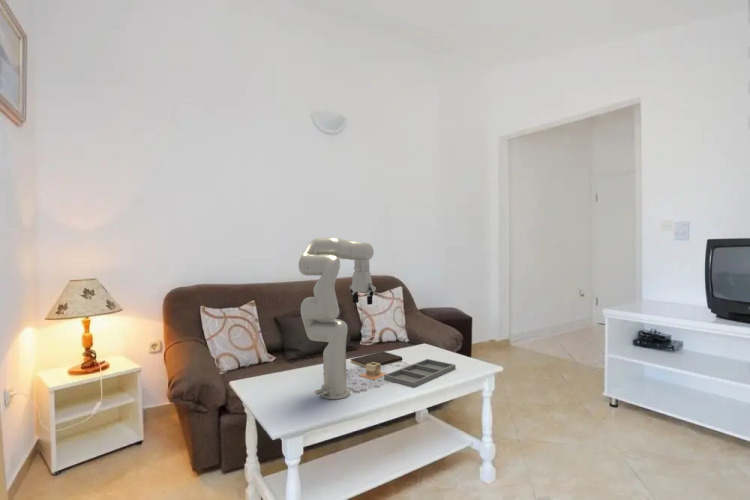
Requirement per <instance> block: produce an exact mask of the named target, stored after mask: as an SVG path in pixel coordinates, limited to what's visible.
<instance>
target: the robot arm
mask: <svg viewBox="0 0 750 500" xmlns="http://www.w3.org/2000/svg"><path fill="white" fill-rule="evenodd" d="M373 257H374V247H373V245H372V244H370V243H367V242H360V241H353V240H347V239H342V238H338V237H315V238H314V239H313V240H311V241H310V242H309V244H308V245H307V247H306V248H305V250H304V251H303V253H302V254H301V256H300V258H299V260H298V271H299V272H300V273H301V274H302V275H304V276H314V277H315V276H320V277H319V279H318V280H317V281H316V283H315V284H314V287H313V291H312V292H313V295H314V296H308V297H306V298H303V300H302V302H301V304H300V315H301V320H302V323H303V326H304V327H303V328H304V329H305V334H306V336H307V338H308V339H309V340H310V341H314V342H323V343H325V342H326V343H327V345H326V347H324V350H323V353H322V357H323V360H322V361H323V362H322V363H323V384H322V385H321V388H319V389H316V390H315V391H314V394H315V395H316V396H318V395H320V396H321V397H322V399H327V400H340V399H344V398H347V397H349V396H350V395H351V389H350V388H348V387H347V354H346V353H347V351H346V350H347V337H348V324H347V323H346V322H345V321H344V320H342V319H338V318H339V315H340V307H339V303H338V302H339V301H338V298H337V294H336V288H335V285H336V283H337V278H338V275H339V272H340V268H341V261H340V260H350V261H354V263H353V264H354V266H353V270H354V271H353V273H352V281H351V284H350V285H349V289H350V290H349V291H350V292H351V295H352V297H353V298H352V299H353V301H352V302H353V304H358V303H359V302H360V301H359V300H360V299H359V293H366V295H367V296H366V304H367V305H372V304H373V297H374V294H375V292H376V290H377V288H376V286H374V285H373V281H372V280H373V279H372V273H371V271H370V260H371V259H372V258H373Z"/></svg>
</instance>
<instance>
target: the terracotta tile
mask: <svg viewBox="0 0 750 500" xmlns="http://www.w3.org/2000/svg"><path fill="white" fill-rule="evenodd" d="M386 374H388V373H385V372H382V371H381V374H380V375H378V376H375V377H373V376H369V375H366V372H363V373H360V374H359V375H358V377H360V378H363V379H367V380H371V381H376V380H378V379H380V378H384V375H386Z"/></svg>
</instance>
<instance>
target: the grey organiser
mask: <svg viewBox="0 0 750 500" xmlns="http://www.w3.org/2000/svg"><path fill="white" fill-rule="evenodd" d="M456 369H457V368H456V364H454V363H448V362H445V361H440V360H435V359H430V358H426V359H424V360H421V361H418V362H416V363H413V364H410V365H407V366H405V367H402V368H399V369H396V370H393V371H391V372H389V373H387V374H386V375H384V376H383V380H384V381H386V382H390V383H394V384H395V383H396V384H399V385H402V386H406V387H410V388H412V389H413V388H414V389H415V388H417V387H419V386H421V385H424V384H425V383H428V382H429V381H432V380H434V379H436V378H439V377H441V376H443V375H445V374H447V373H450V372H452V371H454V370H456Z"/></svg>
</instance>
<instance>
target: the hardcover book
mask: <svg viewBox="0 0 750 500" xmlns="http://www.w3.org/2000/svg"><path fill="white" fill-rule="evenodd" d="M401 361H403V356H400V355H396V354H393V353H391V352H388V351H387V352H386V351H384V350H383V351H379V352H375V353H371V354H366V355H362V356H358V357H354V358H351V359H350V362H351V363H352V364H354V365H358V366H360V367H363V368H365V369H366V364H369V363H372V362H375V363H379V364H381V367H382V366H385V365H389V364H393V363H397V362H401Z"/></svg>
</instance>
